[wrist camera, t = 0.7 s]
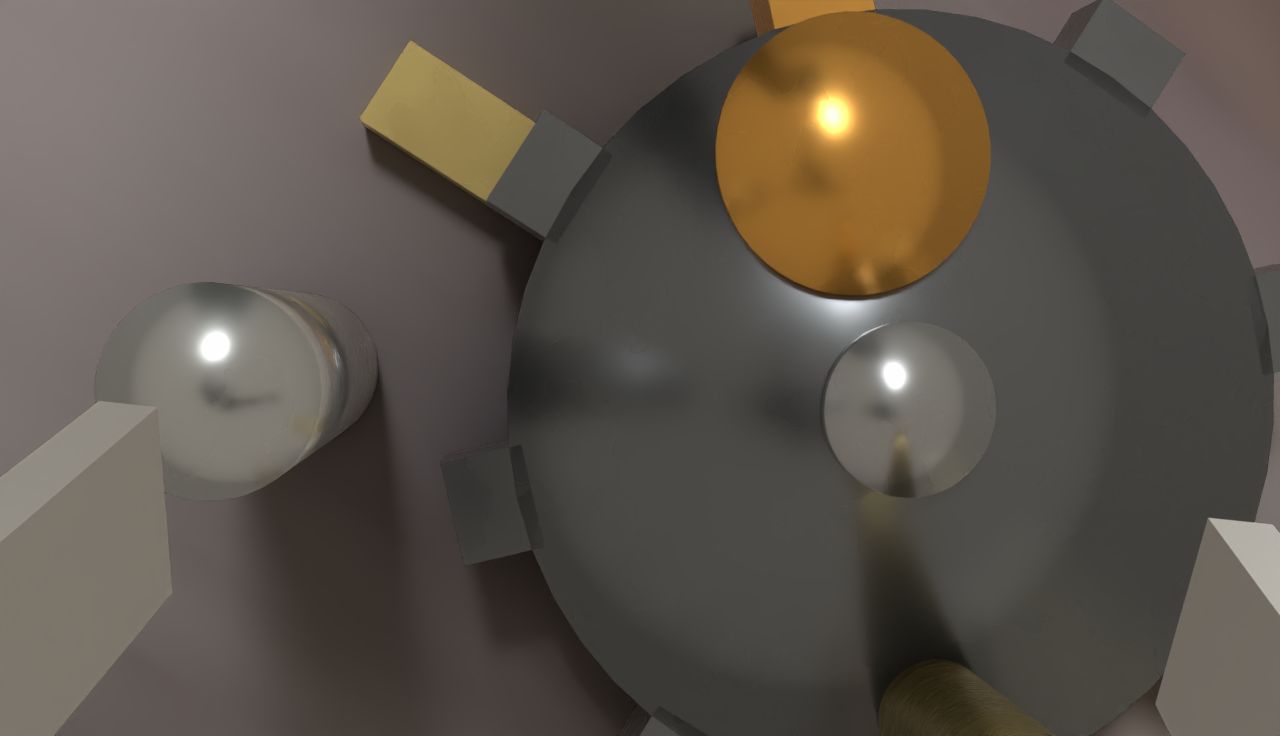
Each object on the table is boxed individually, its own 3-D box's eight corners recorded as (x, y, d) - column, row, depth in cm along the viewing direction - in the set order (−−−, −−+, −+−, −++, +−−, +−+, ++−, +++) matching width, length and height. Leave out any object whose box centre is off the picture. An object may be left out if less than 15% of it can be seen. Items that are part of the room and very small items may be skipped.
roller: (276, 263, 32) (171, 239, 22) (407, 345, 32) (363, 358, 22) (193, 391, 32) (51, 426, 22) (326, 471, 32) (244, 541, 22)
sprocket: (756, -213, 31) (952, -629, 17) (1436, 274, 34) (2070, 246, 20) (269, 546, 31) (77, 734, 17) (1000, 979, 33) (1348, 1444, 20)
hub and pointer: (470, -39, 32) (469, -52, 31) (1056, 355, 34) (1076, 357, 33) (307, 215, 32) (299, 211, 30) (906, 594, 34) (921, 604, 33)
